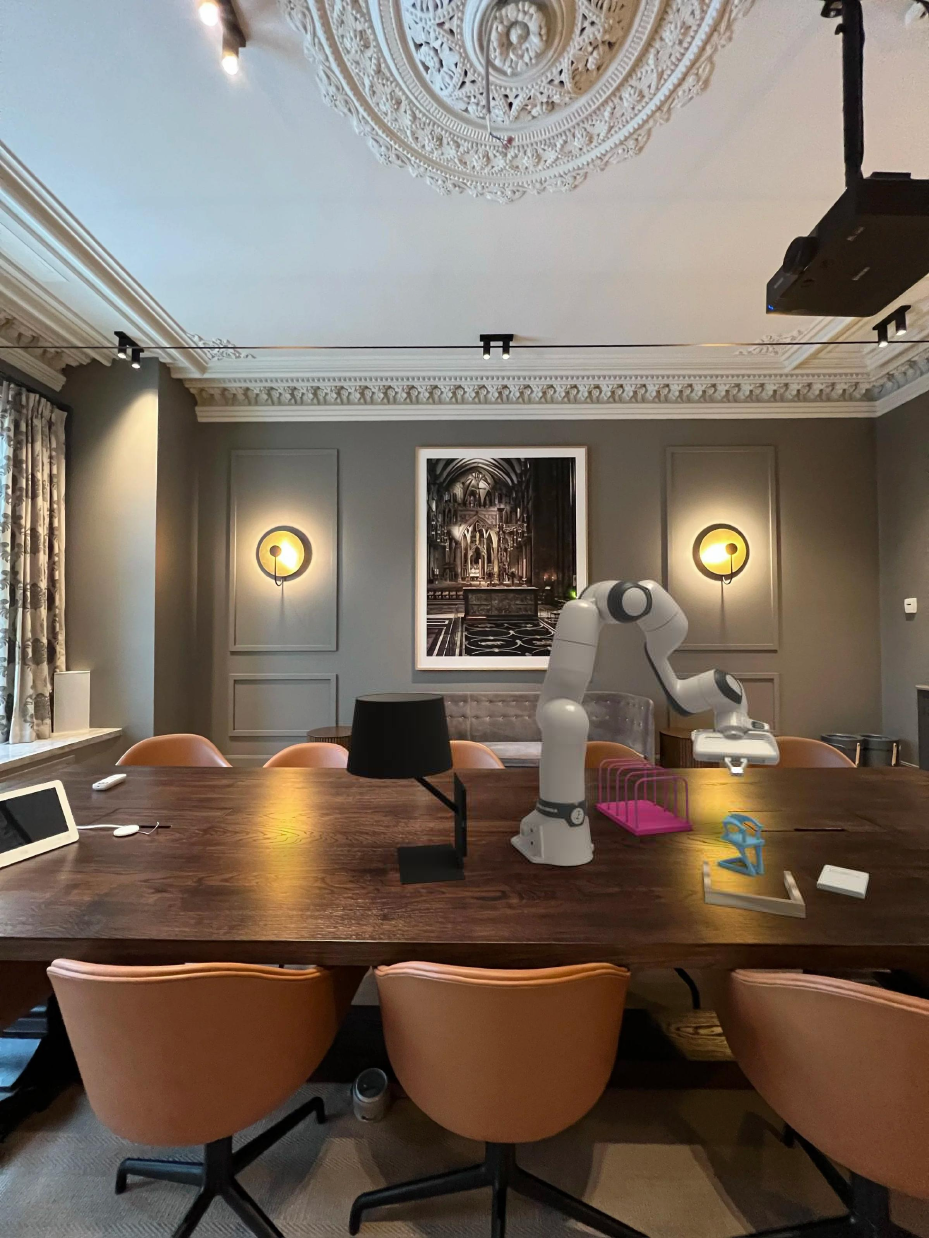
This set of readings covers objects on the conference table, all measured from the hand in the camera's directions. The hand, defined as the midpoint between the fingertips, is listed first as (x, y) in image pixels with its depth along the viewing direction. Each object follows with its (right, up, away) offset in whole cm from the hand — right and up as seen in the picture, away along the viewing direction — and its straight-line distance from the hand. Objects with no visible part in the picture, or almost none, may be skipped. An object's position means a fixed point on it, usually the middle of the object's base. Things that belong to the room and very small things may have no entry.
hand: (737, 775), depth 139 cm
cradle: (-9, -18, -24) cm, 31 cm away
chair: (-4, -18, -12) cm, 22 cm away
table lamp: (-83, -19, -7) cm, 85 cm away
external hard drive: (+13, -18, -20) cm, 30 cm away
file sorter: (-16, -20, +25) cm, 36 cm away
